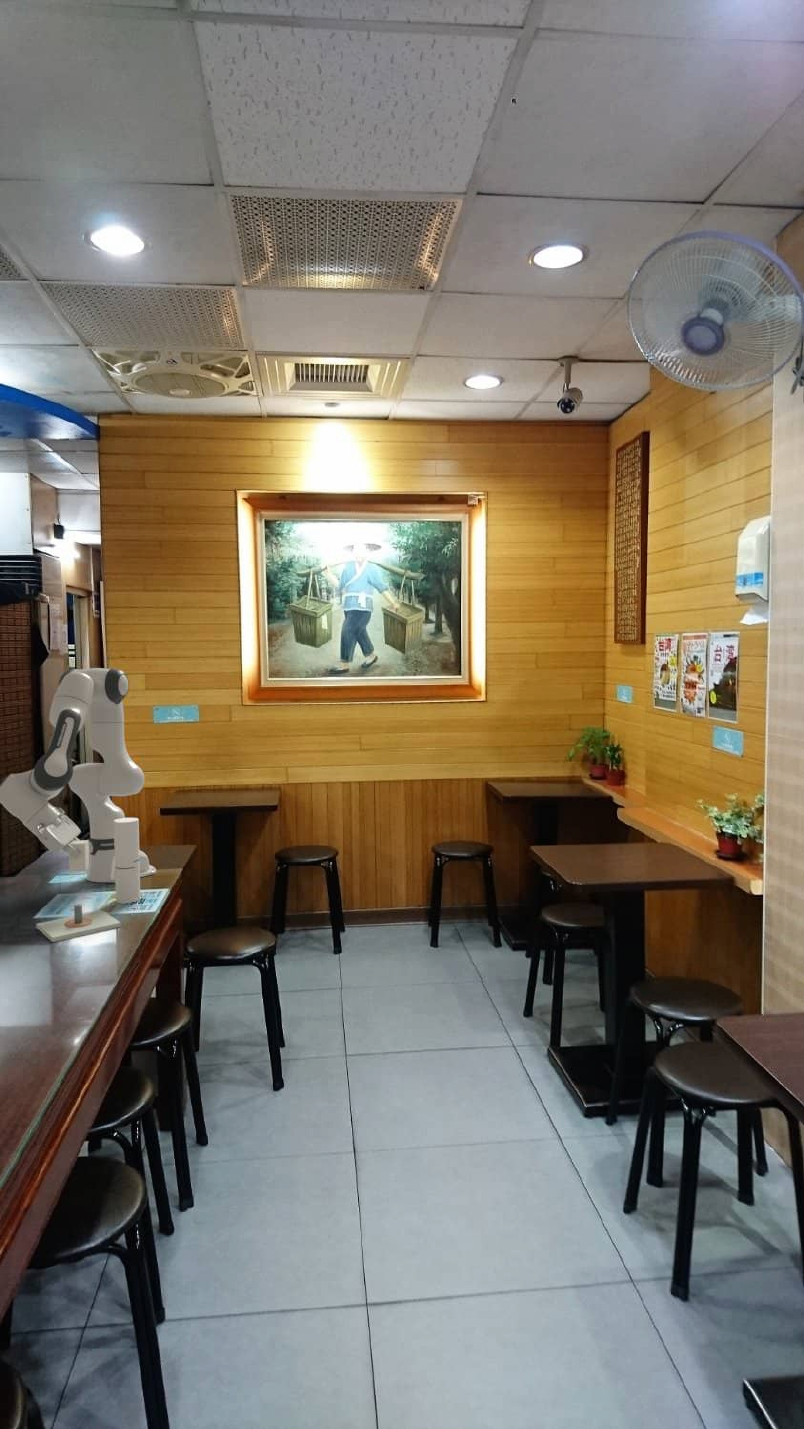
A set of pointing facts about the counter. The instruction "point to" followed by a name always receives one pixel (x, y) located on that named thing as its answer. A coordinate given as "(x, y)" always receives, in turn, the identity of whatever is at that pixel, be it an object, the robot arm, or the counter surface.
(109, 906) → the counter surface
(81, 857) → the square block
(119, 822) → the cylindrical container
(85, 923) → the base plate
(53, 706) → the robot arm
